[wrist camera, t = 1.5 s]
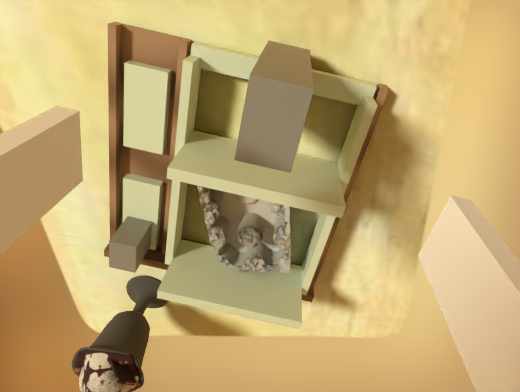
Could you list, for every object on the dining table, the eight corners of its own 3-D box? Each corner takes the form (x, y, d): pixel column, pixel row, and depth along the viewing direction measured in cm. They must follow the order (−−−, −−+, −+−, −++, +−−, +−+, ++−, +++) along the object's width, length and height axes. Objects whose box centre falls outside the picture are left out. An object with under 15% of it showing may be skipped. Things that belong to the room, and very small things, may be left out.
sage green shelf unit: (197, 21, 27) (132, 46, 17) (381, 64, 27) (429, 116, 17) (173, 244, 38) (126, 343, 28) (305, 274, 38) (307, 383, 28)
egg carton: (204, 156, 33) (192, 177, 29) (289, 154, 32) (287, 175, 28) (219, 252, 38) (210, 279, 34) (292, 252, 37) (291, 281, 33)
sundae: (123, 309, 44) (50, 445, 31) (115, 266, 41) (29, 399, 28) (178, 315, 44) (126, 456, 31) (174, 272, 40) (114, 410, 27)
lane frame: (114, 22, 28) (99, 25, 26) (386, 85, 28) (393, 93, 26) (114, 241, 39) (104, 256, 37) (311, 285, 39) (311, 301, 37)
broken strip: (129, 60, 29) (99, 74, 25) (172, 70, 29) (149, 85, 25) (126, 237, 38) (104, 269, 34) (158, 244, 38) (140, 277, 34)
